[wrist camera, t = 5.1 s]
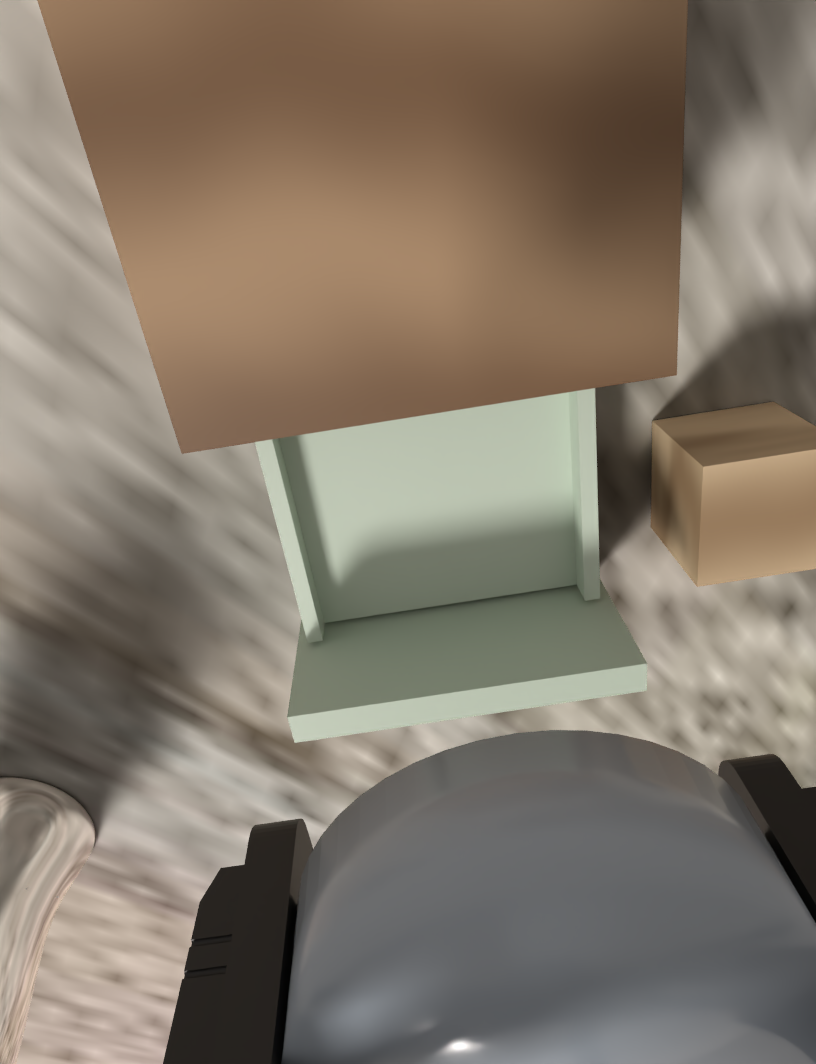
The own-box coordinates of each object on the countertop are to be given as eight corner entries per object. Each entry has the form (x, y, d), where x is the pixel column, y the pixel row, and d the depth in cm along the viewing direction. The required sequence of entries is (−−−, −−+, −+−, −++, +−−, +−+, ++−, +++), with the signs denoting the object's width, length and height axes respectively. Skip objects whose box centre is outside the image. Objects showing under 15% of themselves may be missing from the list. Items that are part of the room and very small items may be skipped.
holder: (598, 321, 22) (676, 374, 16) (228, 381, 22) (182, 453, 17) (587, -209, 16) (699, -399, 11) (91, -121, 16) (-46, -262, 11)
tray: (590, 583, 26) (646, 690, 21) (309, 626, 26) (294, 743, 21) (578, 220, 20) (652, 240, 15) (219, 279, 20) (168, 319, 15)
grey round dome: (788, 695, 8) (902, 841, 6) (744, 1004, 11) (814, 1163, 9) (245, 771, 8) (213, 934, 7) (345, 1056, 11) (340, 1221, 10)
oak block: (763, 509, 25) (828, 566, 22) (650, 527, 25) (696, 586, 22) (773, 401, 23) (846, 444, 20) (652, 420, 23) (703, 466, 20)
